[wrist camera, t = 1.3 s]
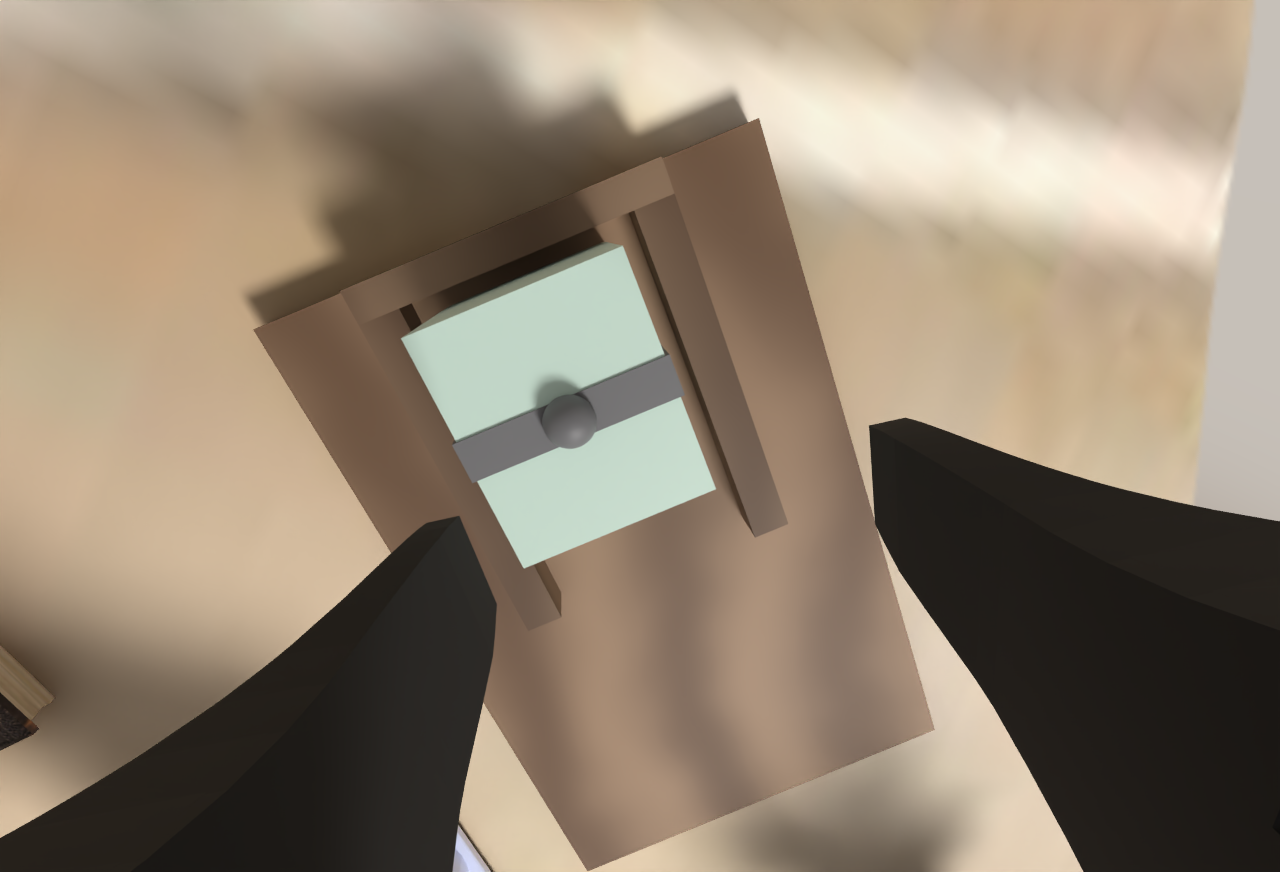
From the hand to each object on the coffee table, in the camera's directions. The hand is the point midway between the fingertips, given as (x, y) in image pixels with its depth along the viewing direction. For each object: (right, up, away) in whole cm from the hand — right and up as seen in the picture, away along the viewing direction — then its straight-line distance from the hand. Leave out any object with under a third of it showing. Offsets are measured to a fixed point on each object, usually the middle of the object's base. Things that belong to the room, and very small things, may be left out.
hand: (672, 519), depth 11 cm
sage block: (-3, +4, +9) cm, 10 cm away
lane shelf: (0, -3, +12) cm, 13 cm away
